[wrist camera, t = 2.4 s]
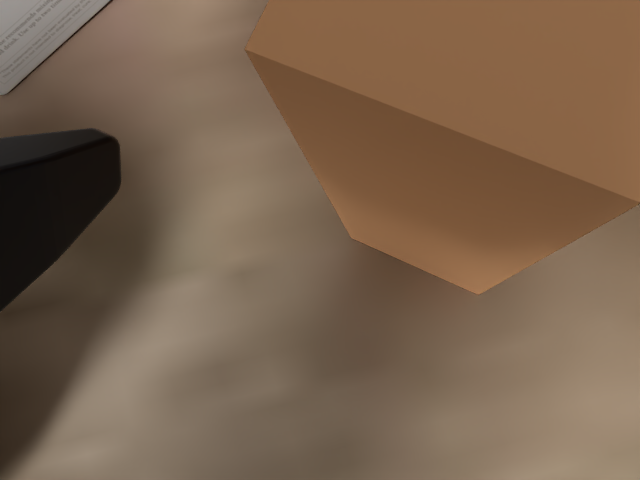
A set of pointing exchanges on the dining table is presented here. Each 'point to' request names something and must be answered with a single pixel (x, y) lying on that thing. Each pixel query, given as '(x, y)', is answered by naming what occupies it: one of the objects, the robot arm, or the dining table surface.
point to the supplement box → (37, 33)
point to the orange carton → (461, 122)
